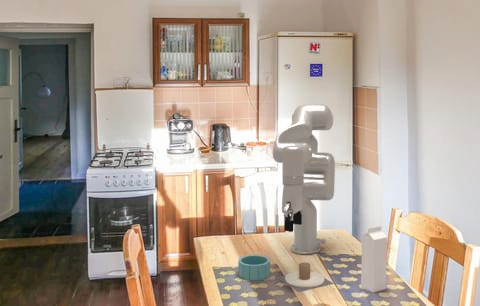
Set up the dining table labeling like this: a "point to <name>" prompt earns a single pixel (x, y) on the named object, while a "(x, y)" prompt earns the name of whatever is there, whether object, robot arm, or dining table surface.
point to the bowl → (254, 267)
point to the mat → (326, 282)
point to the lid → (304, 277)
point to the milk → (374, 260)
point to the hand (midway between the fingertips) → (293, 227)
